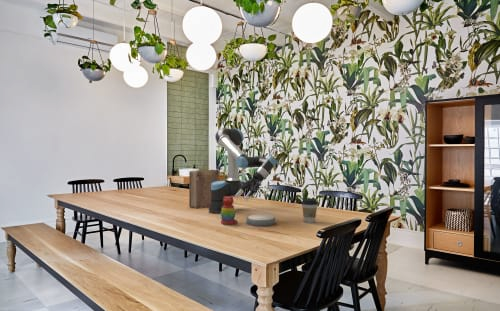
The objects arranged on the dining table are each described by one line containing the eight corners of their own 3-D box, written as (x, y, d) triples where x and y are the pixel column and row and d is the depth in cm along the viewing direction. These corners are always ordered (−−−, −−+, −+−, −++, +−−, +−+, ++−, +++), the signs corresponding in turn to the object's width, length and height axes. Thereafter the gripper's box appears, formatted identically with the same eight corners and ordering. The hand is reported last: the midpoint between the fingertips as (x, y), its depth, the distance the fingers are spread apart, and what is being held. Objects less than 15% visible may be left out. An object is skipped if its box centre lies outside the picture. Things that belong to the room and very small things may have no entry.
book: (196, 208, 283) (196, 171, 282) (189, 207, 289) (189, 171, 288) (219, 204, 302) (219, 170, 301) (211, 203, 308) (211, 169, 308)
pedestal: (241, 224, 228) (241, 217, 228) (256, 218, 244) (256, 213, 244) (266, 227, 217) (266, 221, 217) (280, 222, 233) (280, 216, 233)
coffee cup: (307, 224, 228) (307, 201, 227) (297, 220, 238) (297, 199, 238) (321, 222, 233) (321, 200, 233) (311, 219, 243) (311, 197, 243)
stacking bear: (238, 222, 233) (238, 195, 233) (233, 225, 224) (233, 197, 223) (223, 221, 237) (223, 194, 236) (217, 224, 227) (217, 197, 227)
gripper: (272, 180, 230) (253, 204, 223) (254, 177, 252) (236, 199, 245) (265, 172, 227) (245, 197, 220) (248, 170, 249) (229, 192, 243)
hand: (240, 198), depth 233 cm, fingers open, 13 cm apart
